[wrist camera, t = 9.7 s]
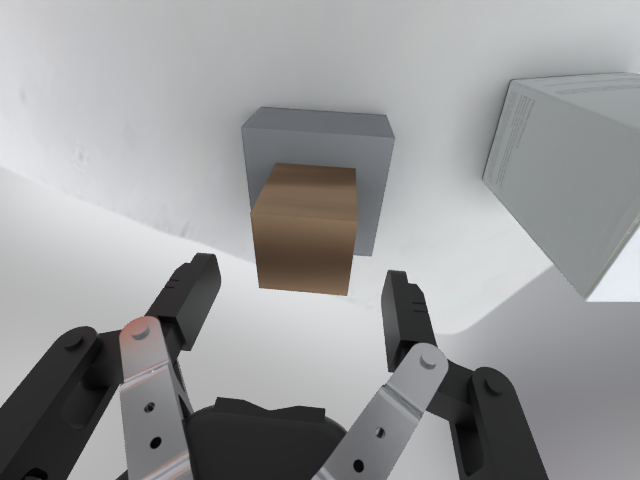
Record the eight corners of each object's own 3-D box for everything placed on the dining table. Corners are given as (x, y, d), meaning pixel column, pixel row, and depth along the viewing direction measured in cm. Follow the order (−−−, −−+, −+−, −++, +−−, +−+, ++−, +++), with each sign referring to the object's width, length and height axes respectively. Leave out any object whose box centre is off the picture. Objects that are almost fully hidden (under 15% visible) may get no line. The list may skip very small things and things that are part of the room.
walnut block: (276, 162, 18) (250, 213, 14) (355, 168, 18) (358, 221, 13) (279, 227, 21) (259, 287, 17) (347, 233, 21) (347, 295, 16)
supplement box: (478, 181, 23) (577, 305, 13) (509, 76, 19) (693, 142, 9) (578, 180, 23) (763, 309, 12) (635, 70, 18) (992, 133, 8)
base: (261, 107, 21) (241, 127, 17) (386, 115, 21) (395, 137, 17) (269, 212, 27) (255, 246, 23) (368, 220, 26) (371, 256, 22)
